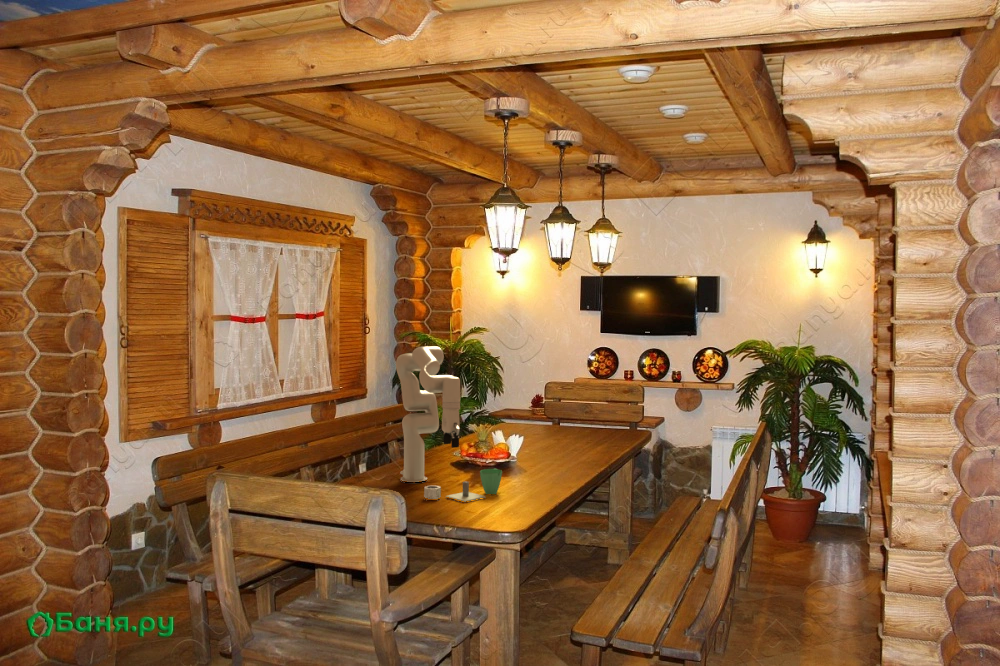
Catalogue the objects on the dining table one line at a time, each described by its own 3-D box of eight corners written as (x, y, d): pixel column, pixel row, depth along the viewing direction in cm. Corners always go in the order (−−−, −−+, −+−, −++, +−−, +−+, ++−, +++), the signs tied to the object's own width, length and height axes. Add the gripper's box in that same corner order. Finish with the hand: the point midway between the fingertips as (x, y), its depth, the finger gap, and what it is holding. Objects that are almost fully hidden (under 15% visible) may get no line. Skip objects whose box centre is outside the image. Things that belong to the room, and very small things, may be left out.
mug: (499, 496, 357) (499, 474, 357) (477, 495, 359) (477, 472, 359) (506, 489, 371) (506, 467, 371) (484, 488, 373) (484, 466, 373)
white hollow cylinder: (421, 498, 352) (421, 487, 352) (433, 496, 357) (433, 484, 357) (431, 501, 347) (431, 489, 347) (443, 498, 352) (443, 487, 352)
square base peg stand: (445, 498, 354) (445, 482, 353) (466, 493, 362) (466, 477, 362) (464, 503, 345) (465, 486, 345) (485, 498, 354) (485, 482, 354)
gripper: (436, 403, 358) (436, 443, 359) (449, 408, 343) (449, 449, 343) (452, 403, 361) (452, 442, 362) (466, 407, 345) (466, 448, 346)
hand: (451, 445), depth 352 cm, fingers open, 9 cm apart
